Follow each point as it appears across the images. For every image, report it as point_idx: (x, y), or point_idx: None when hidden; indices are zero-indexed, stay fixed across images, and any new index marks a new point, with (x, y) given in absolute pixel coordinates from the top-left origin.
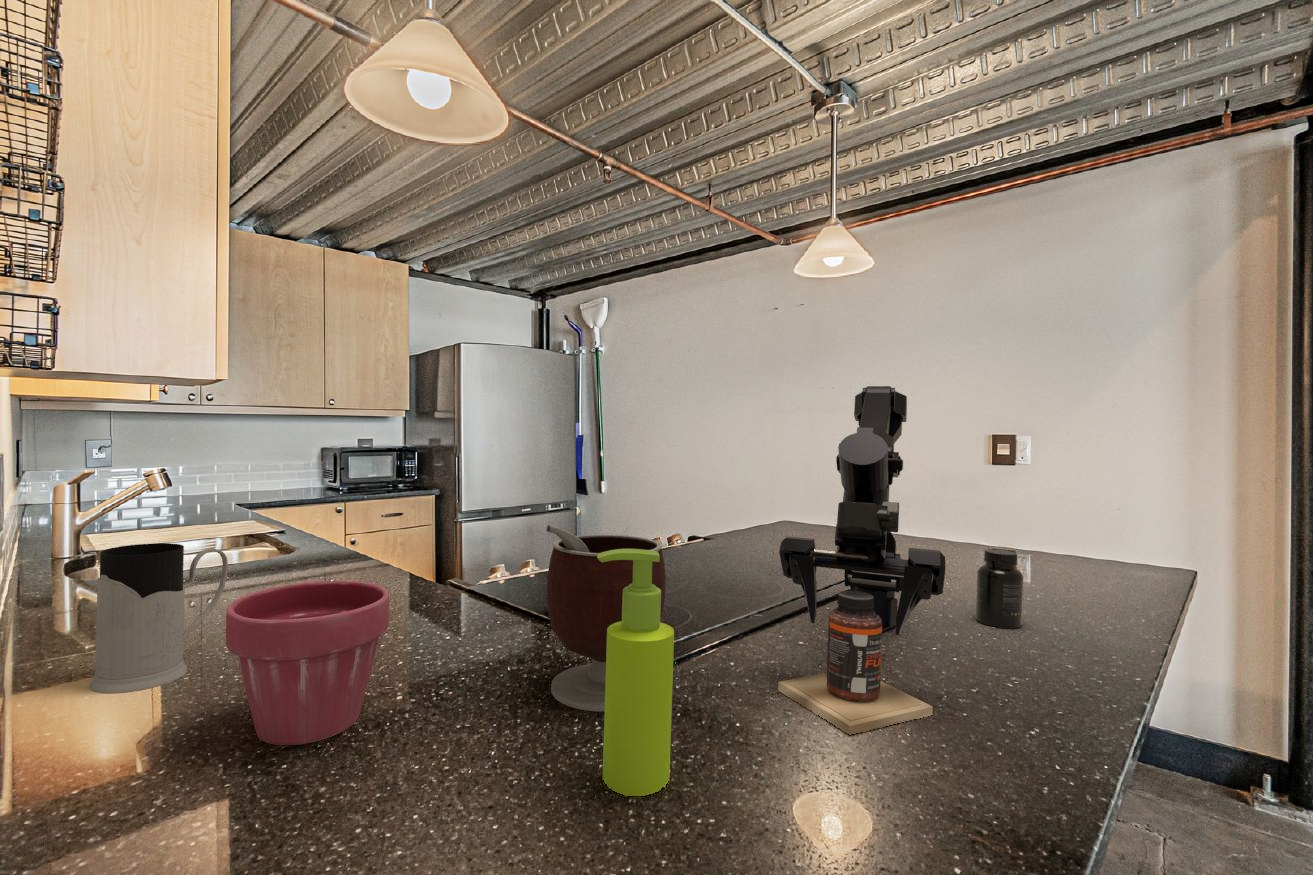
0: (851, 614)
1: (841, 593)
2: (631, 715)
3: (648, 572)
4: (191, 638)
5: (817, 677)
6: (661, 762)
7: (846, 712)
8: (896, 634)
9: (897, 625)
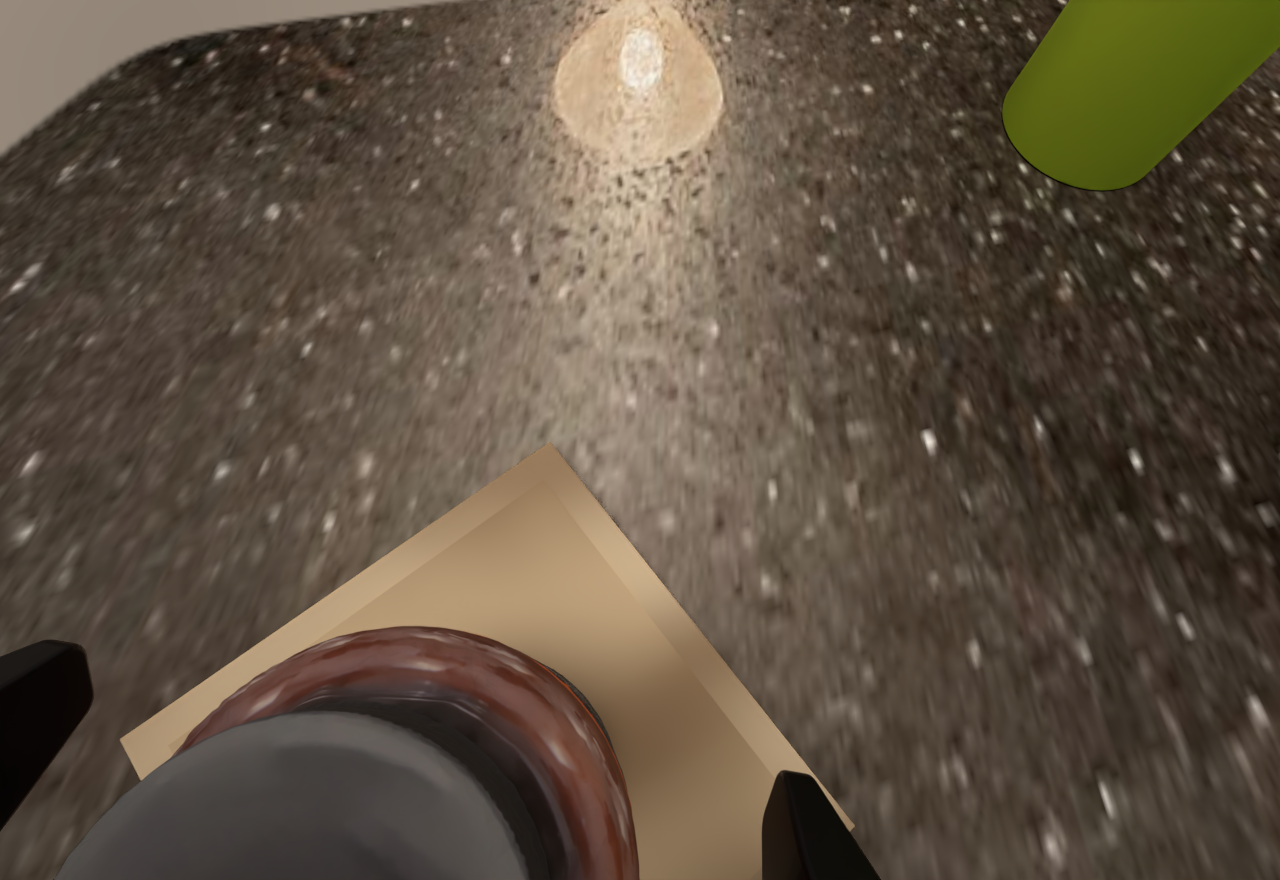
0: (434, 707)
1: None
2: None
3: None
4: None
5: None
6: (1046, 35)
7: (549, 548)
8: (88, 685)
9: (27, 665)
